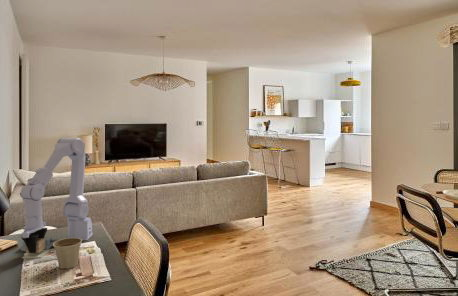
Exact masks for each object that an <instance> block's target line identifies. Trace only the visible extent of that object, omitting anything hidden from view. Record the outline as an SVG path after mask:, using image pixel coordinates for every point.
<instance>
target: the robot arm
mask: <svg viewBox="0 0 458 296" xmlns="http://www.w3.org/2000/svg"><path fill="white" fill-rule="evenodd" d="M85 150H86V143H85V142H84V141H83V140H82V138H81V137H61V138H58V140H57V142H56V143H55V144H54V150H53V151H52V153H50V156H49V158H48V159H47V161H46V163H45V165H44V166H43V167H39V168H38V169H36V170H35V174H33V177H32V178H31V179H30V180H29V182H28V184H26V185H24V186H23V187H22V188H21V190H20V192H19V196H20V198H21V199H22V201H23V202H22V203H23V204H24V218H25V226H23V227H22V230H23V231H22V232H21V237H20V238H21V240H22V242H23V241H24V242H25V244H26V246H27V248H28V251H29V253H35V252H36V244H37V239H38V238H46V237H45V236H46V234H47V231H48V227H47V221H46V220H45V221H44V220H43V208H42V207H43V206H42V199H43V197H44V196H45V192H46V186H47V185H48V184H49V182H50V181H51V180H52V178H53V176H54V174H53V173H54V172H53V171H54V170H55V169H56V167H57V166H58V165H59V164H60V162H61V161H62V159H64V157H68V158H69V159H70V160H71V170H70V184H69V195H68V197H67V198H66V199H65V200H64V205H63V207H62V214H63V215H64V217H65V219H66V220H67V236H68V237H67V238H80V239H82V241H88V240H89V239H90V238H91V237H92V236H93V235H94V234H93V222H92V218H91V217H87V216H88V215H89V212H90V207H89V201H88V199H87V198H86V197H85V196H84V191H85V190H84V188H85V173H86V171H85V170H86V158H87V157H86V152H85Z"/></svg>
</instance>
